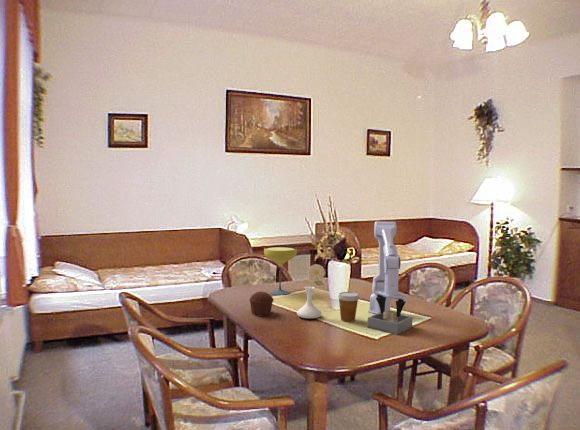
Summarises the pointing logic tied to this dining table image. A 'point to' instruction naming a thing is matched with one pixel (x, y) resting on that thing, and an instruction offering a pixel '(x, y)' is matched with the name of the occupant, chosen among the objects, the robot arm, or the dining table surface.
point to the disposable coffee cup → (348, 305)
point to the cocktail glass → (280, 260)
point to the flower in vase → (309, 309)
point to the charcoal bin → (390, 324)
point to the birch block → (390, 316)
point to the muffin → (261, 303)
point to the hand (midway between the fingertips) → (390, 314)
